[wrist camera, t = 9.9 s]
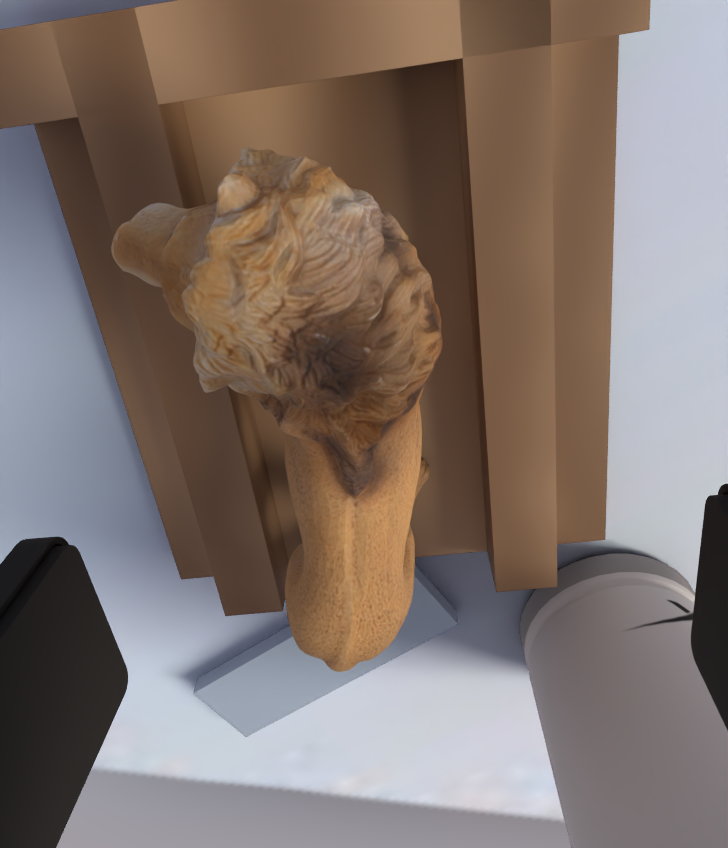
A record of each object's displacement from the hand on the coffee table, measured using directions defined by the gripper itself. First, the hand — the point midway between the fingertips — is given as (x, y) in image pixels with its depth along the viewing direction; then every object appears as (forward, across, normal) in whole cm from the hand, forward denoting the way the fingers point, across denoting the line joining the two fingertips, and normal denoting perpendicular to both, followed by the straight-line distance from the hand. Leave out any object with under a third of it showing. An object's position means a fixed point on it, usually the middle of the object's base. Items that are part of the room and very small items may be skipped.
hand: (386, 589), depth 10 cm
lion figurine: (+10, +2, +1) cm, 10 cm away
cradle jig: (+11, +1, -1) cm, 11 cm away
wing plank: (+11, +4, +12) cm, 17 cm away
